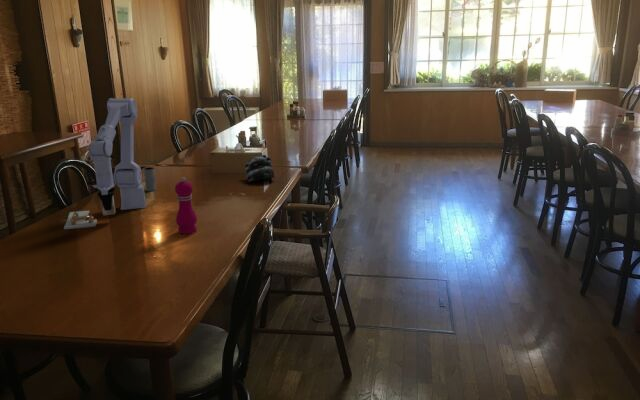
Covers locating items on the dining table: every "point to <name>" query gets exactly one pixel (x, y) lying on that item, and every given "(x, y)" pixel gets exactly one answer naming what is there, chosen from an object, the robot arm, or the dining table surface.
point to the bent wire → (80, 218)
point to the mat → (79, 213)
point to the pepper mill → (185, 208)
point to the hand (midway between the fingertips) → (108, 208)
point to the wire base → (79, 224)
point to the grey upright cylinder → (150, 179)
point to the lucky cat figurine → (259, 169)
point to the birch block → (109, 212)
